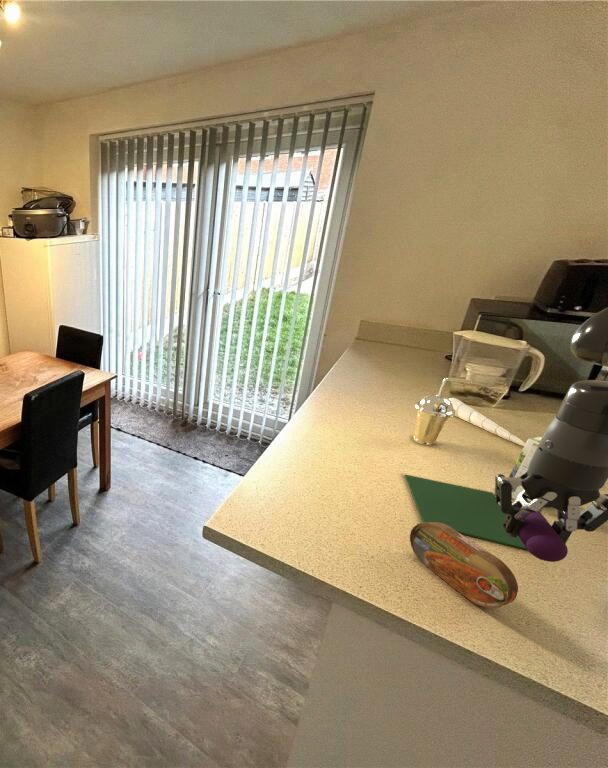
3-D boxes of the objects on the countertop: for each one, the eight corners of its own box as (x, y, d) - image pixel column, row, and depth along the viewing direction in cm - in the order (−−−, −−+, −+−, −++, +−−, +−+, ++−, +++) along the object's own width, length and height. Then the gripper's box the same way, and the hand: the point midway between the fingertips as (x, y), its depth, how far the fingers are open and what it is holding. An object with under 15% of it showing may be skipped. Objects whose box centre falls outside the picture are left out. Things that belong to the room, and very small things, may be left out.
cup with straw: (420, 431, 113) (443, 367, 105) (453, 447, 105) (480, 379, 97) (396, 435, 111) (418, 370, 104) (428, 452, 103) (454, 383, 95)
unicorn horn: (517, 450, 103) (524, 435, 101) (438, 410, 125) (443, 397, 123) (533, 449, 104) (541, 434, 102) (451, 410, 125) (457, 396, 124)
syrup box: (520, 488, 89) (548, 433, 83) (552, 506, 84) (584, 448, 78) (500, 492, 88) (527, 436, 83) (531, 509, 83) (562, 451, 77)
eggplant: (526, 517, 70) (536, 497, 68) (566, 572, 59) (580, 550, 57) (494, 510, 71) (503, 490, 70) (527, 562, 61) (539, 540, 59)
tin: (403, 548, 74) (416, 513, 71) (416, 545, 75) (430, 510, 71) (493, 621, 60) (515, 582, 57) (509, 616, 61) (531, 577, 58)
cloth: (491, 494, 88) (492, 492, 88) (529, 550, 73) (530, 549, 73) (404, 475, 94) (405, 474, 94) (423, 524, 79) (424, 523, 79)
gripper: (630, 448, 58) (577, 536, 65) (502, 429, 64) (466, 511, 70) (669, 476, 52) (606, 570, 58) (524, 452, 58) (482, 540, 64)
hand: (530, 538), depth 64 cm, fingers closed on eggplant, 4 cm apart
